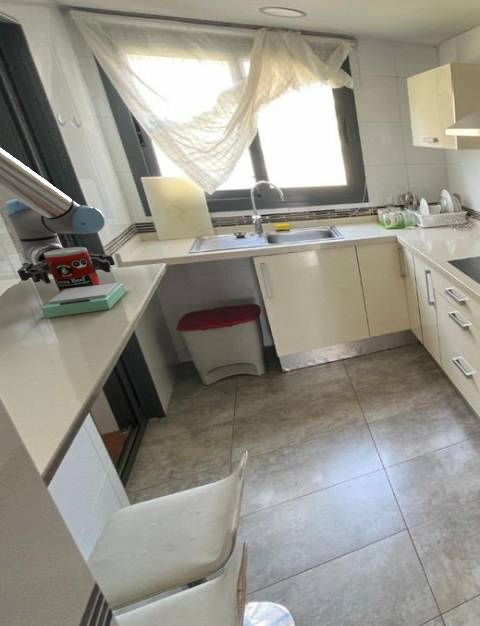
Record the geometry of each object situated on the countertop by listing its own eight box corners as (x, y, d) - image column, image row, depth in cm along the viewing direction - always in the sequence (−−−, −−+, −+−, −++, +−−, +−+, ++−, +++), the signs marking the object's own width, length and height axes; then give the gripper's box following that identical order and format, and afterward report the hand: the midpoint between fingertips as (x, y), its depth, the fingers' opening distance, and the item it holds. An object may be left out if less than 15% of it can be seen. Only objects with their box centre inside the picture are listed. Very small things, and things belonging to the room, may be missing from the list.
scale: (45, 318, 103) (40, 305, 102) (68, 299, 114) (63, 288, 113) (109, 309, 108) (105, 297, 107) (125, 292, 119) (121, 281, 118)
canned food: (54, 298, 114) (36, 255, 110) (70, 289, 121) (53, 248, 117) (94, 294, 117) (77, 252, 113) (107, 285, 124) (92, 245, 120)
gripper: (113, 263, 137) (140, 275, 125) (-1, 283, 119) (17, 299, 108) (104, 238, 134) (130, 248, 122) (-15, 255, 116) (3, 268, 105)
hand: (77, 272), depth 115 cm, fingers open, 10 cm apart
